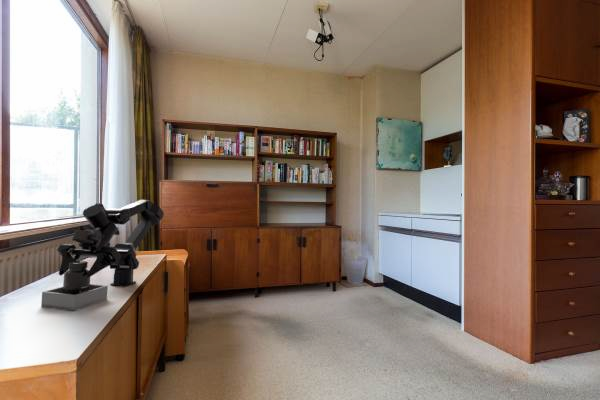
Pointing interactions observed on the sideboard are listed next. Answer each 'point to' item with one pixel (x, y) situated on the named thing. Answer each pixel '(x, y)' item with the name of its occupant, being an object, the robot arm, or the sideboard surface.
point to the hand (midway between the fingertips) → (73, 275)
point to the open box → (73, 298)
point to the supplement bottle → (76, 278)
